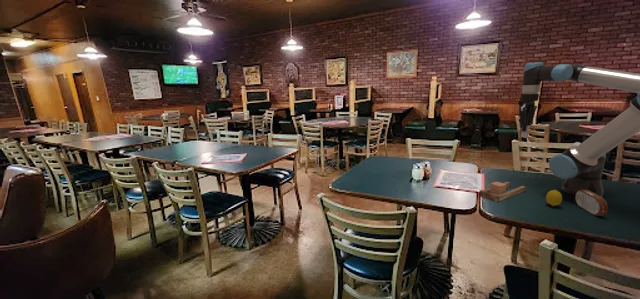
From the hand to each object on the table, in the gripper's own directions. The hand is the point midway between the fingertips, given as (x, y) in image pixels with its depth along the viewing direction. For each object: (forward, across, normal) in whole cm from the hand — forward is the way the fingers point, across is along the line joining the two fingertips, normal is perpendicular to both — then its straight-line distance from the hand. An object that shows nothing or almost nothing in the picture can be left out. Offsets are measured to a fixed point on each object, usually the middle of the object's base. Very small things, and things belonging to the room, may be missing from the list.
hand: (524, 137), depth 146 cm
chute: (+26, +22, +4) cm, 35 cm away
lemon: (+27, +19, +24) cm, 40 cm away
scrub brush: (+27, +12, +34) cm, 45 cm away
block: (+26, +27, +4) cm, 38 cm away
